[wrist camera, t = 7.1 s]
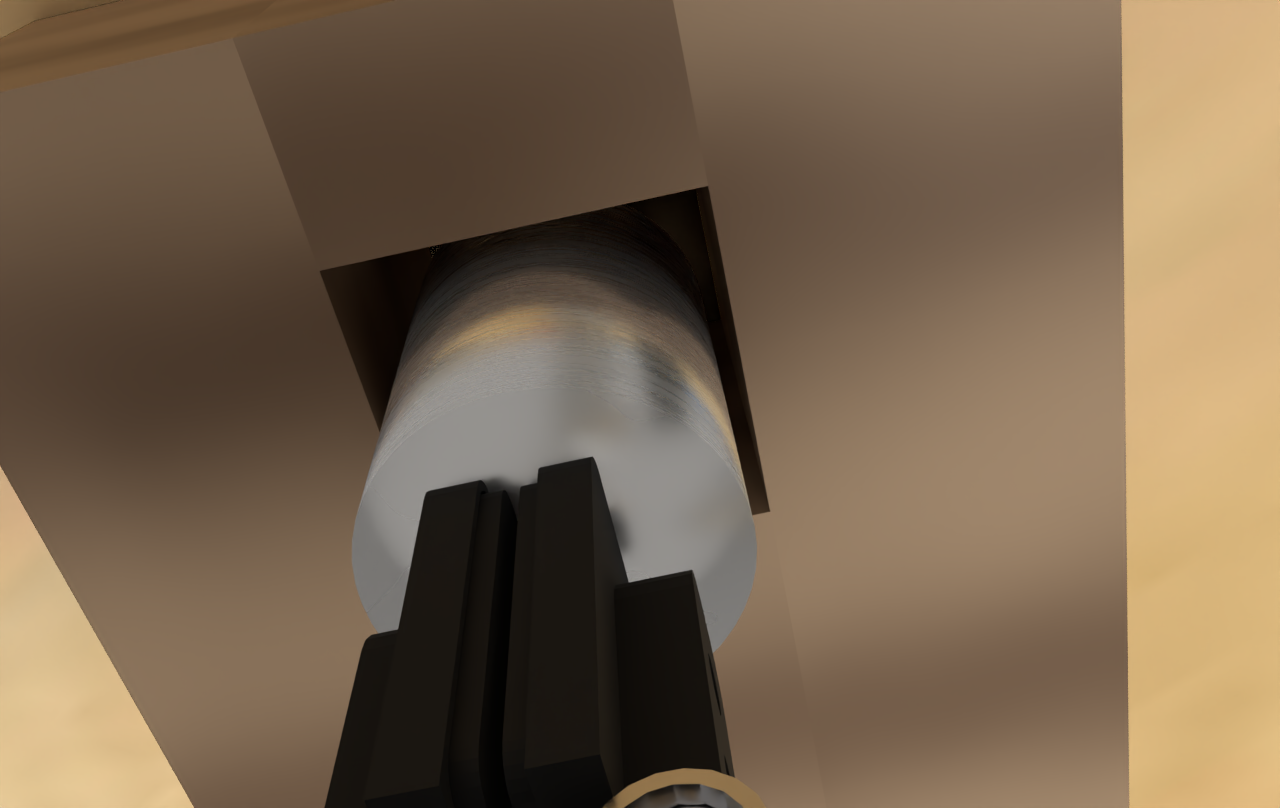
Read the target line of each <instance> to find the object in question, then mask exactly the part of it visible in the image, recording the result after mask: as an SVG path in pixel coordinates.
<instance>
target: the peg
mask: <svg viewBox="0 0 1280 808" xmlns="http://www.w3.org/2000/svg"><path fill="white" fill-rule="evenodd" d="M592 456H593V458H594V459H595V461H596V464H597V467H598V470H599V474H600V478H601V481H602V485H603V489H604V492H605V496H606V500H607V503H608V507H609V511H610V514H611V518H612V522H613V526H614V529H615V533H616V537H617V540H618V544H619V548H620V551H621V555H622V559H623V562H624V566H625V570H626V574H627V577H628V581H629V582H634V581H639V580H644V579H649V578H653V577H658V576H663V575H668V574H673V573H678V572H683V571H688V570H693V572H694V576H695V579H696V583H697V587H698V591H699V595H700V599H701V604H702V608H703V612H704V616H705V621H706V625H707V629H708V634H709V638H710V642H711V647H712V652H713V653H714V652H715V651H716V650H717V649H718V648H719V647H720V645H721V644H722V643H723V642H724V640H725V639H726V638H727V636H728V635H729V634H730V632H731V631H732V630H733V628H734V627H735V625H736V623H737V621H738V619H739V618H740V616H741V614H742V612H743V610H744V608H745V606H746V603H747V600H748V598H749V595H750V592H751V590H752V585H753V580H754V576H755V571H756V558H757V542H756V534H755V525H754V521H753V517H752V512H751V508H750V504H749V499H748V495H747V491H746V486H745V482H744V478H743V473H742V469H741V465H740V460H739V456H738V452H737V447H736V443H735V439H734V434H733V430H732V426H731V421H730V417H729V413H728V409H727V404H726V400H725V396H724V391H723V387H722V383H721V378H720V374H719V370H718V365H717V361H716V357H715V352H714V348H713V344H712V339H711V335H710V331H709V326H708V322H707V318H706V313H705V309H704V305H703V300H702V296H701V293H700V289H699V285H698V282H697V279H696V277H695V275H694V272H693V270H692V268H691V265H690V263H689V262H688V260H687V259H686V257H685V255H684V254H683V252H682V251H681V249H680V248H679V247H678V245H677V244H676V243H675V242H674V241H673V239H672V238H671V237H670V236H669V235H668V234H667V233H666V232H665V231H664V230H663V229H662V228H661V227H660V226H659V225H657V224H656V223H655V222H654V221H652V220H651V219H650V218H648V217H647V216H645V215H644V214H642V213H641V212H640V211H638V210H636V209H634V208H632V207H630V206H628V205H626V204H622V205H618V206H613V207H609V208H604V209H600V210H595V211H591V212H586V213H581V214H577V215H572V216H568V217H563V218H559V219H554V220H549V221H545V222H540V223H536V224H531V225H527V226H522V227H517V228H513V229H508V230H504V231H499V232H495V233H490V234H485V235H481V236H476V237H472V238H467V239H463V240H458V241H453V242H449V243H444V244H442V245H441V247H440V248H439V250H438V251H437V252H436V254H435V255H434V257H433V259H432V261H431V263H430V265H429V267H428V269H427V271H426V273H425V276H424V279H423V282H422V285H421V288H420V291H419V295H418V298H417V302H416V305H415V309H414V312H413V316H412V320H411V323H410V327H409V330H408V334H407V337H406V341H405V345H404V348H403V352H402V355H401V359H400V362H399V366H398V369H397V373H396V377H395V380H394V384H393V387H392V391H391V394H390V398H389V402H388V405H387V409H386V412H385V416H384V419H383V423H382V427H381V430H380V434H379V437H378V441H377V444H376V448H375V451H374V455H373V459H372V462H371V466H370V469H369V473H368V476H367V480H366V484H365V487H364V491H363V494H362V498H361V501H360V505H359V509H358V512H357V516H356V519H355V525H354V531H353V537H352V567H353V573H354V579H355V584H356V588H357V591H358V594H359V597H360V600H361V603H362V605H363V607H364V609H365V611H366V613H367V615H368V617H369V619H370V621H371V623H372V625H373V626H374V628H375V629H376V630H377V632H378V633H382V632H387V631H392V630H397V629H398V627H399V622H400V617H401V612H402V607H403V602H404V597H405V592H406V587H407V582H408V576H409V571H410V566H411V561H412V556H413V551H414V546H415V541H416V536H417V531H418V526H419V521H420V516H421V511H422V506H423V501H424V497H425V494H426V492H427V491H430V490H435V489H439V488H444V487H449V486H454V485H458V484H463V483H468V482H473V481H478V480H482V481H483V482H484V483H485V485H486V486H487V488H488V491H489V493H491V492H495V491H500V490H506V491H507V493H508V495H509V497H510V500H511V503H512V506H513V509H514V512H515V515H516V518H517V521H518V508H519V494H520V487H521V486H524V485H529V484H534V483H537V477H538V469H539V468H540V467H544V466H549V465H554V464H559V463H564V462H568V461H573V460H578V459H583V458H587V457H592Z"/></svg>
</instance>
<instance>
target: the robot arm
mask: <svg viewBox="0 0 1280 808" xmlns="http://www.w3.org/2000/svg"><path fill="white" fill-rule="evenodd" d="M324 808H766V807H765V805H764V804H763V802H762V800H761V799H760V797H759V796H758V794H757V793H756V792H754V791H753V790H752V789H750V788H749V787H748V786H746V785H745V784H744V783H742V782H741V781H740V780H738V779H737V778H735V775H734V769H733V763H732V756H731V750H730V744H729V738H728V732H727V726H726V719H725V714H724V708H723V702H722V697H721V691H720V686H719V681H718V676H717V671H716V666H715V661H714V656H713V652H712V647H711V642H710V638H709V634H708V629H707V625H706V621H705V616H704V612H703V608H702V604H701V599H700V595H699V591H698V587H697V583H696V579H695V576H694V572H693V570H688V571H683V572H678V573H673V574H668V575H663V576H658V577H653V578H649V579H644V580H639V581H634V582H629V581H628V577H627V574H626V570H625V566H624V562H623V559H622V555H621V551H620V548H619V544H618V540H617V537H616V533H615V529H614V526H613V522H612V518H611V514H610V511H609V507H608V503H607V500H606V496H605V492H604V489H603V485H602V481H601V478H600V474H599V470H598V467H597V464H596V461H595V459H594V458H593V456H592V457H587V458H583V459H578V460H573V461H568V462H564V463H559V464H554V465H549V466H544V467H540V468H539V469H538V477H537V483H534V484H529V485H524V486H521V487H520V494H519V508H518V521H517V518H516V515H515V512H514V509H513V506H512V503H511V500H510V497H509V495H508V493H507V491H506V490H500V491H495V492H491V493H489V491H488V488H487V486H486V485H485V483H484V482H483V481H482V480H478V481H473V482H468V483H463V484H458V485H454V486H449V487H444V488H439V489H435V490H430V491H427V492H426V494H425V497H424V501H423V506H422V511H421V516H420V521H419V526H418V531H417V536H416V541H415V546H414V551H413V556H412V561H411V566H410V571H409V576H408V582H407V587H406V592H405V597H404V602H403V607H402V612H401V617H400V622H399V627H398V629H397V630H392V631H387V632H382V633H378V634H373V635H370V636H369V637H368V638H367V639H366V640H365V642H364V645H363V648H362V650H361V654H360V658H359V662H358V667H357V671H356V675H355V680H354V684H353V688H352V692H351V697H350V701H349V705H348V709H347V714H346V718H345V722H344V726H343V731H342V735H341V739H340V743H339V748H338V752H337V756H336V760H335V765H334V769H333V773H332V777H331V782H330V786H329V790H328V794H327V799H326V803H325V807H324Z"/></svg>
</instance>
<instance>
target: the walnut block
mask: <svg viewBox="0 0 1280 808" xmlns="http://www.w3.org/2000/svg"><path fill="white" fill-rule="evenodd" d="M691 189H696V194H697V199H698V204H699V209H700V214H701V219H702V225H703V230H704V235H705V240H706V245H707V250H708V255H709V260H710V265H711V270H712V276H713V281H714V286H715V291H716V296H717V301H718V306H719V311H720V316H721V320H717V321H712V322H708V326H709V331H710V335H711V339H712V344H713V348H714V352H715V357H716V361H717V365H718V370H719V374H720V378H721V383H722V387H723V391H724V396H725V400H726V404H727V409H728V413H729V417H730V421H731V426H732V430H733V434H734V439H735V443H736V447H737V452H738V456H739V460H740V465H741V469H742V473H743V478H744V482H745V486H746V491H747V495H748V499H749V504H750V508H751V512H752V517H753V521H754V525H755V534H756V542H757V558H756V571H755V576H754V580H753V585H752V590H751V592H750V595H749V598H748V600H747V603H746V606H745V608H744V610H743V612H742V614H741V616H740V618H739V619H738V621H737V623H736V625H735V627H734V628H733V630H732V631H731V632H730V634H729V635H728V636H727V638H726V639H725V640H724V642H723V643H722V644H721V645H720V647H719V648H718V649H717V650H716V651H715V652H714V653H713V656H714V661H715V666H716V671H717V676H718V681H719V686H720V691H721V697H722V702H723V708H724V714H725V719H726V726H727V732H728V738H729V744H730V750H731V756H732V763H733V769H734V775H735V778H737V779H738V780H740V781H741V782H742V783H744V784H745V785H746V786H748V787H749V788H750V789H752V790H753V791H754V792H756V793H757V794H758V796H759V797H760V799H761V800H762V802H763V804H764V805H765V807H766V808H1129V742H1128V642H1127V541H1126V441H1125V340H1124V239H1123V139H1122V38H1121V0H122V1H117V2H113V3H109V4H105V5H100V6H96V7H92V8H88V9H83V10H79V11H75V12H71V13H66V14H62V15H58V16H54V17H49V18H45V19H41V20H37V21H34V22H32V23H30V24H28V25H26V26H24V27H22V28H20V29H18V30H16V31H14V32H12V33H10V34H8V35H7V36H5V37H3V38H1V39H0V466H1V468H2V469H3V471H4V473H5V475H6V476H7V478H8V480H9V482H10V483H11V485H12V487H13V489H14V490H15V492H16V494H17V496H18V498H19V499H20V501H21V503H22V505H23V506H24V508H25V510H26V512H27V513H28V515H29V517H30V519H31V520H32V522H33V524H34V526H35V528H36V529H37V531H38V533H39V535H40V536H41V538H42V540H43V542H44V543H45V545H46V547H47V549H48V550H49V552H50V554H51V556H52V558H53V559H54V561H55V563H56V565H57V566H58V568H59V570H60V572H61V573H62V575H63V577H64V579H65V580H66V582H67V584H68V586H69V587H70V589H71V591H72V593H73V595H74V596H75V598H76V600H77V602H78V603H79V605H80V607H81V609H82V610H83V612H84V614H85V616H86V617H87V619H88V621H89V623H90V625H91V626H92V628H93V630H94V632H95V633H96V635H97V637H98V639H99V640H100V642H101V644H102V646H103V647H104V649H105V651H106V653H107V655H108V656H109V658H110V660H111V662H112V663H113V665H114V667H115V669H116V670H117V672H118V674H119V676H120V677H121V679H122V681H123V683H124V684H125V686H126V688H127V690H128V692H129V693H130V695H131V697H132V699H133V700H134V702H135V704H136V706H137V707H138V709H139V711H140V713H141V714H142V716H143V718H144V720H145V722H146V723H147V725H148V727H149V729H150V730H151V732H152V734H153V736H154V737H155V739H156V741H157V743H158V744H159V746H160V748H161V750H162V752H163V753H164V755H165V757H166V759H167V760H168V762H169V764H170V766H171V767H172V769H173V771H174V773H175V774H176V776H177V778H178V780H179V781H180V783H181V785H182V787H183V789H184V790H185V792H186V794H187V796H188V797H189V799H190V801H191V803H192V804H193V806H194V808H324V807H325V803H326V799H327V794H328V790H329V786H330V782H331V777H332V773H333V769H334V765H335V760H336V756H337V752H338V748H339V743H340V739H341V735H342V731H343V726H344V722H345V718H346V714H347V709H348V705H349V701H350V697H351V692H352V688H353V684H354V680H355V675H356V671H357V667H358V662H359V658H360V654H361V650H362V648H363V645H364V642H365V640H366V639H367V638H368V637H369V636H370V635H373V634H378V632H377V630H376V629H375V628H374V626H373V625H372V623H371V621H370V619H369V617H368V615H367V613H366V611H365V609H364V607H363V605H362V603H361V600H360V597H359V594H358V591H357V588H356V584H355V579H354V573H353V567H352V537H353V531H354V525H355V519H356V516H357V512H358V509H359V505H360V501H361V498H362V494H363V491H364V487H365V484H366V480H367V476H368V473H369V469H370V466H371V462H372V459H373V455H374V451H375V448H376V444H377V441H378V437H379V434H380V430H381V427H382V423H383V419H384V416H385V412H386V409H387V405H388V402H389V398H390V394H391V391H392V387H393V384H394V380H395V377H396V373H397V369H398V366H399V362H400V359H401V355H402V352H403V348H404V345H405V341H406V337H407V334H408V330H409V327H410V323H411V320H412V316H413V312H414V309H415V305H416V302H417V298H418V295H419V291H420V288H421V285H422V282H423V279H424V276H425V273H426V271H427V269H428V267H429V265H430V263H431V261H432V257H431V254H430V251H429V248H428V247H431V246H435V245H440V244H444V243H449V242H453V241H458V240H463V239H467V238H472V237H476V236H481V235H485V234H490V233H495V232H499V231H504V230H508V229H513V228H517V227H522V226H527V225H531V224H536V223H540V222H545V221H549V220H554V219H559V218H563V217H568V216H572V215H577V214H581V213H586V212H591V211H595V210H600V209H604V208H609V207H613V206H618V205H622V204H627V203H632V202H636V201H641V200H645V199H650V198H654V197H659V196H664V195H668V194H673V193H677V192H682V191H686V190H691Z"/></svg>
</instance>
